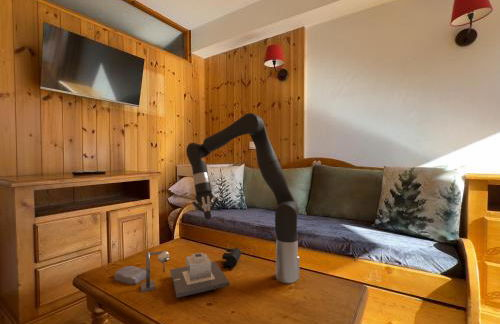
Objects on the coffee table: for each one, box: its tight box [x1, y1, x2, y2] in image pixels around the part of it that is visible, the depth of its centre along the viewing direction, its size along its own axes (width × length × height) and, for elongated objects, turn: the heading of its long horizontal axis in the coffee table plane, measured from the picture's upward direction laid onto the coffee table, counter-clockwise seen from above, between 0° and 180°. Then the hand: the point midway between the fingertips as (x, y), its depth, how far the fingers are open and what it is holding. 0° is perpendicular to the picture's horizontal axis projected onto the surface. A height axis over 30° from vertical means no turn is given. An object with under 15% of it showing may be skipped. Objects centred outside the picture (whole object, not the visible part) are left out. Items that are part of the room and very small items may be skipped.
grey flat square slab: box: [169, 261, 230, 299], centre depth 101 cm, size 20×20×2 cm
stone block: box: [114, 265, 146, 286], centre depth 105 cm, size 12×5×10 cm
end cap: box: [221, 247, 242, 270], centre depth 119 cm, size 10×7×7 cm
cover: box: [185, 252, 212, 283], centre depth 100 cm, size 8×8×9 cm
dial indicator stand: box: [140, 250, 171, 293], centre depth 98 cm, size 11×5×14 cm, turn 115°
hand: (208, 219), depth 113 cm, fingers closed
